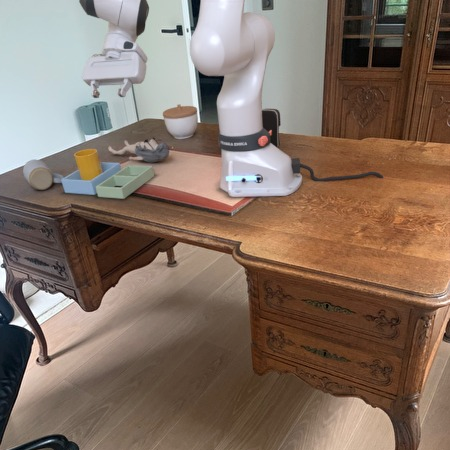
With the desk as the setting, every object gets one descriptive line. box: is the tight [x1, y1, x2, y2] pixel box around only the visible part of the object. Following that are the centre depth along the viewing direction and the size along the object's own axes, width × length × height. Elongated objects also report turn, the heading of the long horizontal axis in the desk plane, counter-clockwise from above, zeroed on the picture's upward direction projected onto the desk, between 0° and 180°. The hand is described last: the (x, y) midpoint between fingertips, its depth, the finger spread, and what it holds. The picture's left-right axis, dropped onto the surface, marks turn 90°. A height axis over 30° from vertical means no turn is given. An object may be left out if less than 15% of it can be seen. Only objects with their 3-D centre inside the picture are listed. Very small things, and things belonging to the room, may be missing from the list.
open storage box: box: [61, 161, 122, 196], centre depth 132 cm, size 11×15×4 cm
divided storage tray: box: [96, 164, 156, 200], centre depth 128 cm, size 9×17×3 cm, turn 157°
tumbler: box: [73, 148, 103, 181], centre depth 130 cm, size 7×7×9 cm
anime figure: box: [107, 137, 170, 164], centre depth 146 cm, size 10×7×30 cm
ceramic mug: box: [22, 158, 65, 191], centre depth 134 cm, size 11×8×8 cm
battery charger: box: [262, 108, 282, 148], centre depth 142 cm, size 7×4×11 cm, turn 58°
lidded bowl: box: [162, 103, 199, 140], centre depth 162 cm, size 13×13×11 cm
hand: (107, 96), depth 129 cm, fingers open, 8 cm apart
